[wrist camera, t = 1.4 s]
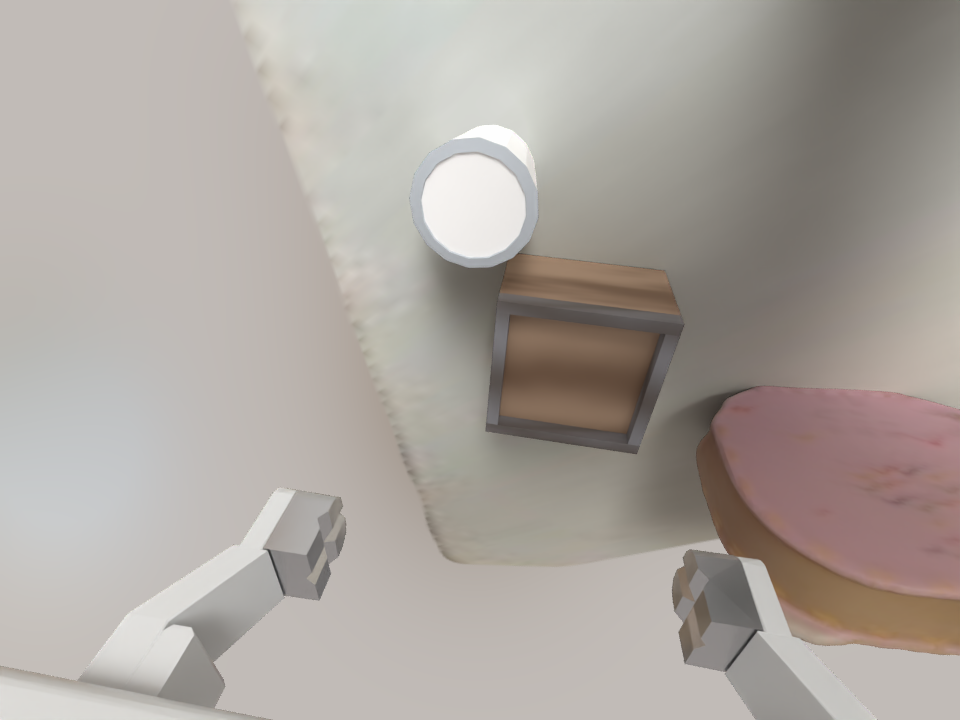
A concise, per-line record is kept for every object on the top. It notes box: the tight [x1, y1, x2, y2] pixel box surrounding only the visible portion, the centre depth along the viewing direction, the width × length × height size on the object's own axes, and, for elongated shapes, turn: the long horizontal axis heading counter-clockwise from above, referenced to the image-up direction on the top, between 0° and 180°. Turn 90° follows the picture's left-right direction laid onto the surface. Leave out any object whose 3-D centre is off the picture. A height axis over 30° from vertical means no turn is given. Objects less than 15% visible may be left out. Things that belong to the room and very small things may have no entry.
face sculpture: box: [696, 386, 960, 655], centre depth 30 cm, size 20×7×17 cm, turn 98°
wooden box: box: [486, 254, 684, 454], centre depth 33 cm, size 11×11×7 cm
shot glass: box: [409, 125, 538, 268], centre depth 28 cm, size 7×7×7 cm
